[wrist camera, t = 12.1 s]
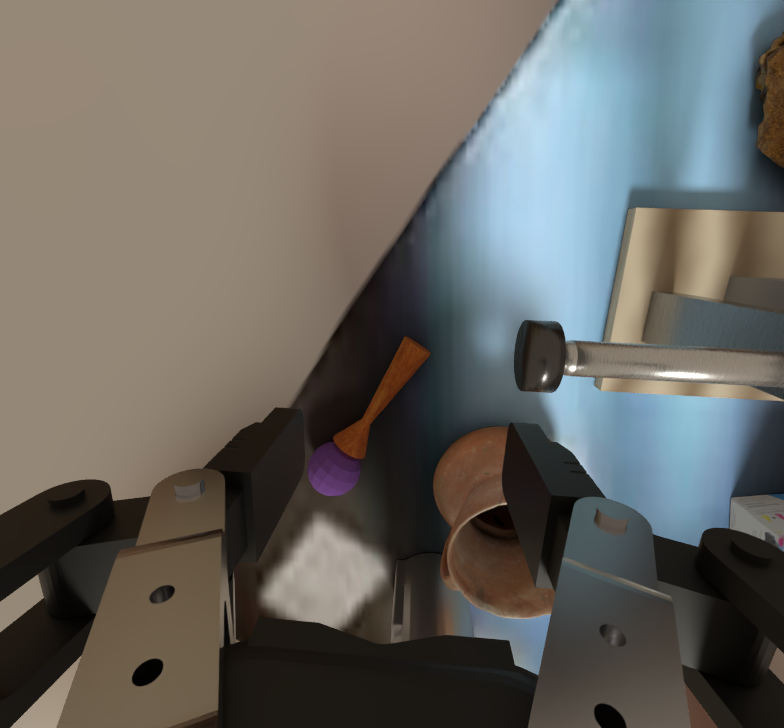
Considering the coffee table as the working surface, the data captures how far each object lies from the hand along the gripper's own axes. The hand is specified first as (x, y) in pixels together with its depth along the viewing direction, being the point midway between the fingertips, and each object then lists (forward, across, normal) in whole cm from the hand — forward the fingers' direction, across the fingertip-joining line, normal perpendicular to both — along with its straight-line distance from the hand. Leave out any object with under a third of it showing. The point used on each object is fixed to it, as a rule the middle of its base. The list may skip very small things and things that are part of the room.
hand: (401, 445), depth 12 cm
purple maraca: (+32, +4, +13) cm, 35 cm away
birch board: (+32, -30, -1) cm, 43 cm away
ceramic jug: (+32, -10, +20) cm, 39 cm away
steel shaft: (+14, -16, 0) cm, 21 cm away
